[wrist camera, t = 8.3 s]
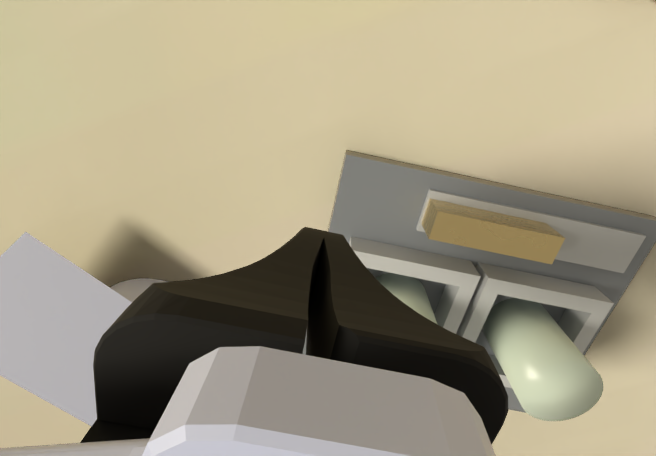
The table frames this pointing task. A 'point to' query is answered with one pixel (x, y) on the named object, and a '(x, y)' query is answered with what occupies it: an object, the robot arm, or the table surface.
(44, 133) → the table surface
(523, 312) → the pale green egg
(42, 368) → the wedge on round base
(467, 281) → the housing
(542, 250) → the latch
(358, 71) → the table surface
